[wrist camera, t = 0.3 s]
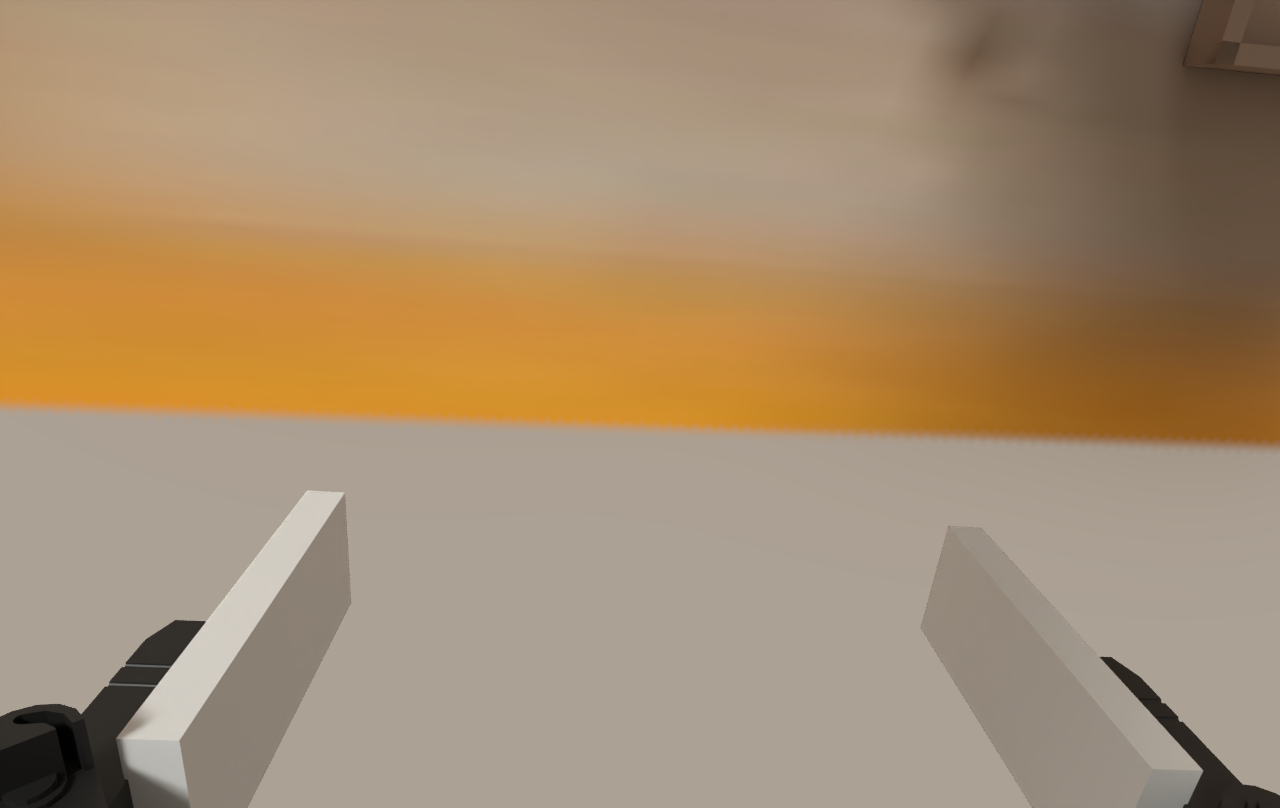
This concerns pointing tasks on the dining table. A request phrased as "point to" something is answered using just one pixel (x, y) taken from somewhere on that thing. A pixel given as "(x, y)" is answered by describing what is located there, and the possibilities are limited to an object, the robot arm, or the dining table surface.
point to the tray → (1237, 36)
